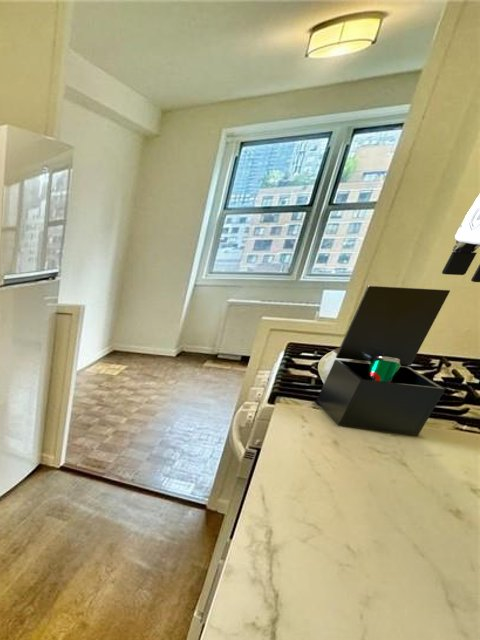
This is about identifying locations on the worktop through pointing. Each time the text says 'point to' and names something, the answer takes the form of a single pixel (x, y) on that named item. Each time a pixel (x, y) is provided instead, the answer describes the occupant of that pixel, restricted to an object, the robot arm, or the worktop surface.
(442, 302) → the bin lid
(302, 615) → the worktop surface
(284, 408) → the worktop surface
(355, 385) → the bin
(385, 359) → the soda can
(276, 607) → the worktop surface
